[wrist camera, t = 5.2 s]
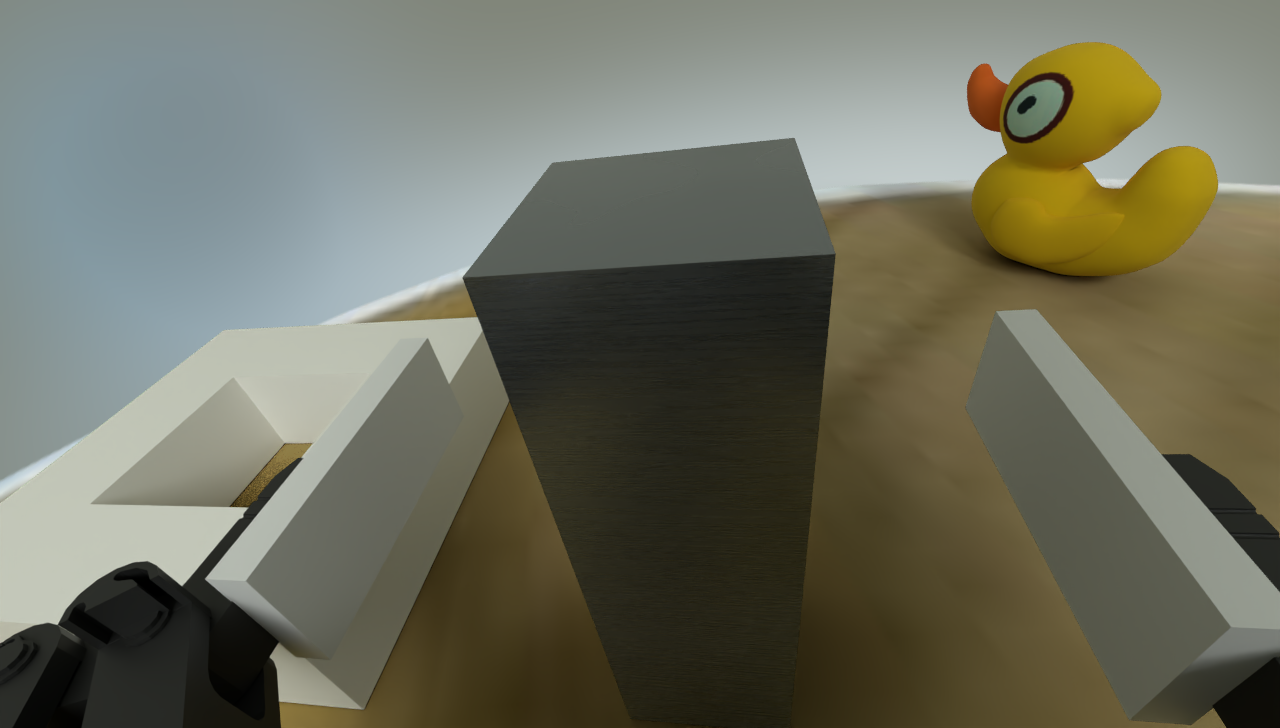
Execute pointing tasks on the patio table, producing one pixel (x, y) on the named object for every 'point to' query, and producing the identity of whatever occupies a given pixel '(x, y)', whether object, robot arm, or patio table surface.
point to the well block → (241, 480)
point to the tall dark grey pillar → (673, 408)
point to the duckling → (1081, 166)
